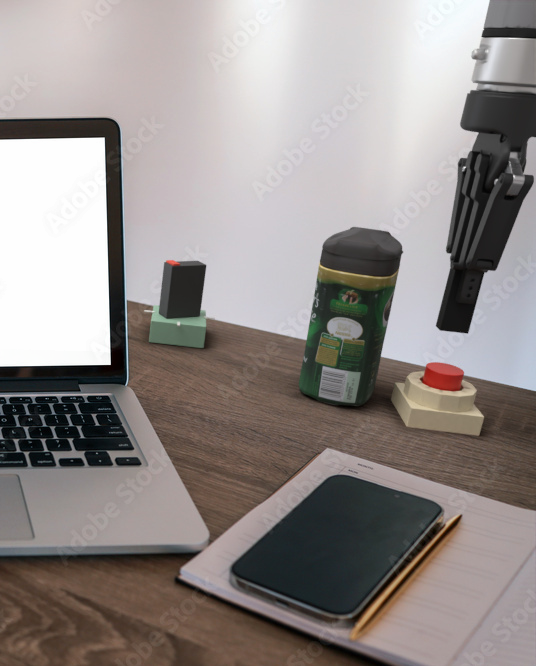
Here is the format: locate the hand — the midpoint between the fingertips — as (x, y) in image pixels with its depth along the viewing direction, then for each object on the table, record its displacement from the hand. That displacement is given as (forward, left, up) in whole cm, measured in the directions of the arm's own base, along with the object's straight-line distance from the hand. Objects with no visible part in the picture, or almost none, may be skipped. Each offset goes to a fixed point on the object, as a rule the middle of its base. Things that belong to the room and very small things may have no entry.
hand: (451, 329), depth 80 cm
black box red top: (+27, -17, -7) cm, 33 cm away
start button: (0, 0, -6) cm, 6 cm away
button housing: (0, 0, -10) cm, 10 cm away
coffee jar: (+9, -4, -10) cm, 14 cm away
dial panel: (+27, -17, -10) cm, 34 cm away
